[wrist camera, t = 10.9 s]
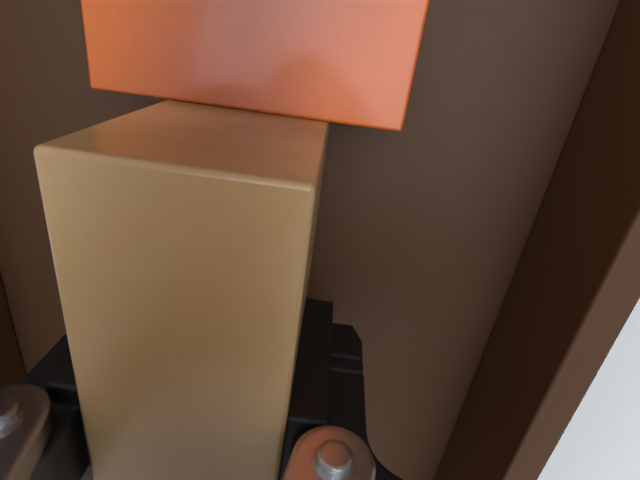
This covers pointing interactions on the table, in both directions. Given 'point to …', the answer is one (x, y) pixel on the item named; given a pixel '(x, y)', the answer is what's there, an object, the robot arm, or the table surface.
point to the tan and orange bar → (207, 216)
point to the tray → (413, 222)
